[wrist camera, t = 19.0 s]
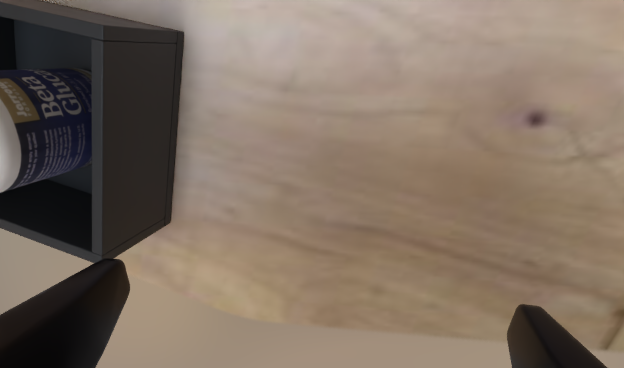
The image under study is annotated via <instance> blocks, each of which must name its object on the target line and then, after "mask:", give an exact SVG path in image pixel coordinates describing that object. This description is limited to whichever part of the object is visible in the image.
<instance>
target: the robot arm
mask: <svg viewBox="0 0 624 368" xmlns="http://www.w3.org/2000/svg"><path fill="white" fill-rule="evenodd" d="M129 291H130V284H129V280H128V276H127V272H126V268H125V265H124V263H123V261H122V260H119V259H111V258H104V259H102V260H100V261H98V262H96V263H94V264H92V265H90V266H89V267H87V268H85V269H83V270H81V271H80V272H78V273H76V274H74V275H72V276H70V277H69V278H67V279H65V280H63V281H61V282H59V283H58V284H56V285H54V286H52V287H50V288H49V289H47V290H45V291H43V292H41V293H39V294H38V295H36V296H34V297H32V298H30V299H28V300H27V301H25V302H23V303H21V304H19V305H18V306H16V307H14V308H12V309H10V310H8V311H7V312H5V313H3V314H1V315H0V368H95V367H96V365H97V363H98V361H99V359H100V358H101V356H102V354H103V352H104V349H105V347H106V345H107V343H108V341H109V339H110V336H111V334H112V332H113V330H114V327H115V325H116V323H117V320H118V318H119V316H120V314H121V311H122V309H123V307H124V304H125V302H126V300H127V298H128V295H129ZM507 341H508V347H509V352H510V358H511V363H512V368H607V367H606V366H605V365H604V364H603V363H602V362H600V361H599V360H598V359H597V358H596V357H595V356H594V355H593V354H592V353H591V352H590V351H588V350H587V349H586V348H585V347H584V346H583V345H582V344H581V343H580V342H579V341H578V340H576V339H575V338H574V337H573V336H572V335H571V334H570V333H569V332H568V331H567V330H565V329H564V328H563V327H562V326H561V325H560V324H559V323H558V322H557V321H556V320H555V319H553V318H552V317H551V316H550V315H549V314H548V313H547V312H546V311H545V310H544V309H542V308H541V307H539V306H534V305H525V304H521V305H519V306H518V307H517V308H516V311H515V313H514V316H513V318H512V321H511V323H510V325H509V328H508V332H507Z"/></svg>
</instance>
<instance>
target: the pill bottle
mask: <svg viewBox="0 0 624 368" xmlns="http://www.w3.org/2000/svg"><path fill="white" fill-rule="evenodd" d="M88 165H92V81H91V72H89V71H86V70H83V69H76V68H58V69H26V70H0V193H1V192H5V191H8V190H11V189H14V188H17V187H21V186H24V185H27V184H30V183H33V182H37V181H40V180H43V179H46V178H50V177H53V176H56V175H59V174H63V173H66V172H69V171H72V170H76V169H79V168H82V167H85V166H88Z"/></svg>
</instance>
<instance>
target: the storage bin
mask: <svg viewBox="0 0 624 368" xmlns="http://www.w3.org/2000/svg"><path fill="white" fill-rule="evenodd" d="M183 38H184V32H182V31H177V30H173V29H168V28H164V27H159V26H155V25H150V24H145V23H141V22H136V21H132V20H127V19H123V18H118V17H114V16H109V15H105V14H100V13H95V12H91V11H86V10H82V9H77V8H73V7H68V6H64V5H59V4H55V3H50V2H45V1H41V0H0V70H26V69H58V68H76V69H83V70H86V71H89V72H91V81H92V165H88V166H85V167H82V168H79V169H76V170H72V171H69V172H66V173H63V174H59V175H56V176H53V177H50V178H46V179H43V180H40V181H37V182H33V183H30V184H27V185H24V186H21V187H17V188H14V189H11V190H8V191H5V192H1V193H0V228H2V229H4V230H7V231H10V232H12V233H15V234H18V235H20V236H23V237H26V238H28V239H31V240H34V241H36V242H39V243H42V244H44V245H47V246H50V247H53V248H55V249H58V250H61V251H63V252H66V253H69V254H71V255H74V256H77V257H79V258H82V259H85V260H87V261H90V262H93V263H96V262H98V261H100V260H102V259H104V258H111V259H113V258H115V257H116V256H118V255H120V254H121V253H123V252H124V251H126V250H128V249H129V248H131V247H132V246H134V245H136V244H137V243H139V242H140V241H142V240H143V239H145V238H147V237H148V236H150V235H151V234H153V233H155V232H156V231H158V230H159V229H161V228H163V227H164V226H166V225H168V224H169V223H170V218H171V204H172V190H173V176H174V163H175V149H176V135H177V121H178V107H179V94H180V80H181V66H182V52H183Z"/></svg>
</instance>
